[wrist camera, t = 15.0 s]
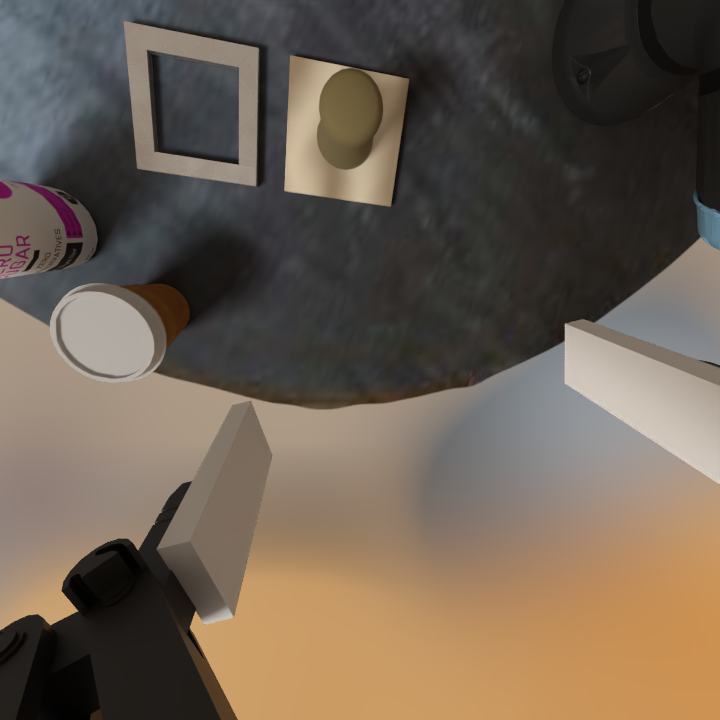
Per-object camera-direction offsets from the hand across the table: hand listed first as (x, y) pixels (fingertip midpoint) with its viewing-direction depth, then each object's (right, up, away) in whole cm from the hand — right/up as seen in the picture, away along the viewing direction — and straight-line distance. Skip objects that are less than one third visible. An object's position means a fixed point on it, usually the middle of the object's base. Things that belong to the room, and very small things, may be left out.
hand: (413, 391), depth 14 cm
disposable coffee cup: (-26, +8, +28) cm, 39 cm away
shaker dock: (-19, +27, +21) cm, 39 cm away
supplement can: (-35, +16, +24) cm, 45 cm away
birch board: (-4, +25, +23) cm, 34 cm away
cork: (-4, +25, +22) cm, 34 cm away
